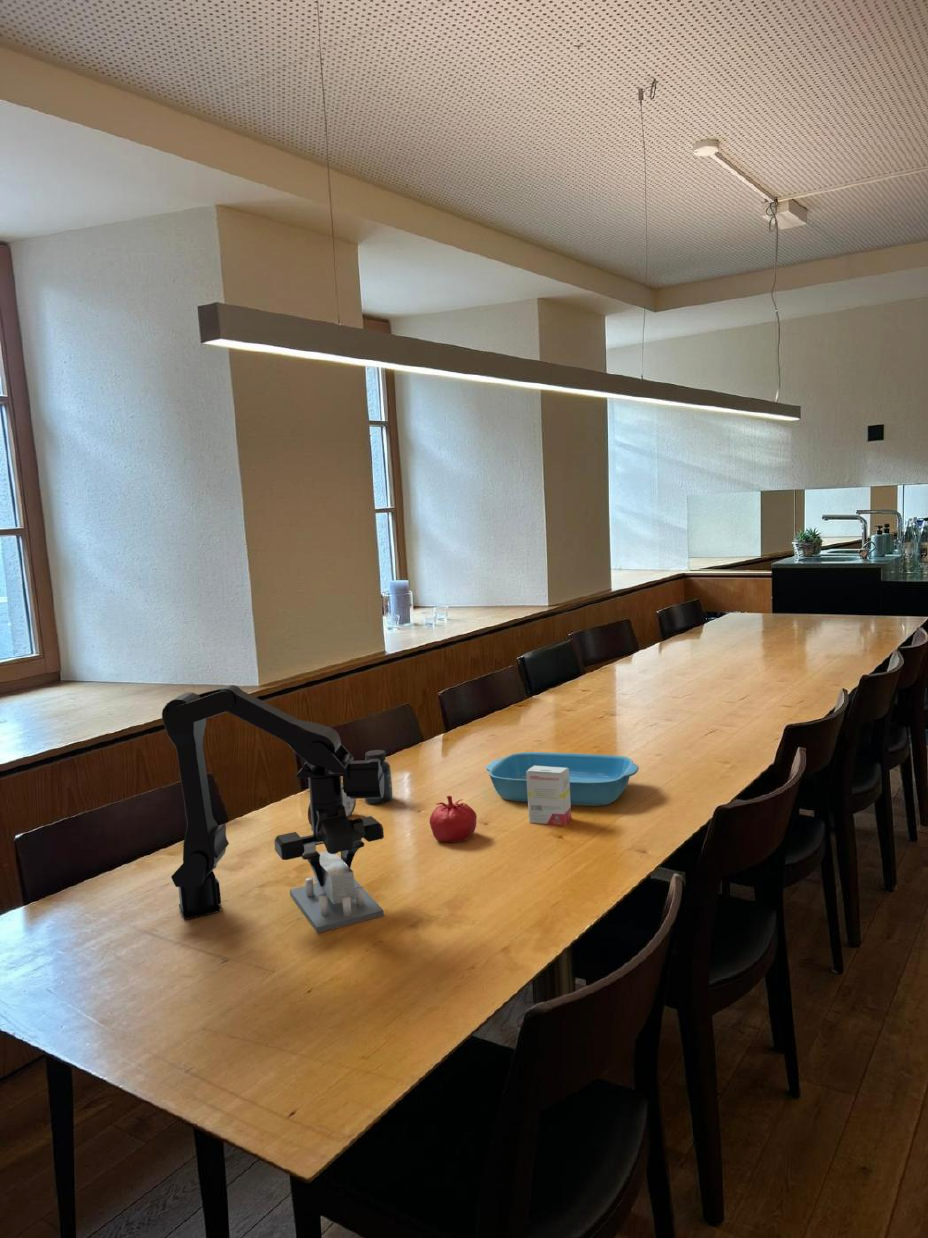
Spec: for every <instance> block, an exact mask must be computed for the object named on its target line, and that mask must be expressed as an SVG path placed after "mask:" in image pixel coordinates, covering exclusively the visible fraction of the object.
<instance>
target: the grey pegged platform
mask: <svg viewBox="0 0 928 1238" xmlns="http://www.w3.org/2000/svg"><path fill="white" fill-rule="evenodd" d="M304 883H305V885H303V886H299V887H295V888H291V889H289V895H290V897H291V899H292V900H293V901H294V903H295V904H296V905H297V907H298V908H299V909H300V911H301V912H302V914H303V915H304V916H305V918H306V919H307V921H308V922H309V924H310V925H311V927H313V929H314V931H315V932H316V933H317V934H321V933H323V932H327V931H331V930H334V929H338V928H342V927H346V926H349V925H354V924H357V923H362V922H366V921H369V920H372V919H377V918H380V917H383V916H385V911H384V909H383V908H382V907H381V906H380V904H378V902H376V900H375V899H374V898H373V897H372V896H371V895H370V894H369V892H367V890H365V888H364V887H363V886H362V885H361V884H360V883H359V882H358V881H357V880H356V879H355V878H354V886H355V897H356V899H353V900H350V897H344V898H342V902H341V903H337V904H333V903H332V902H331V900H330V899H329V898H328V897H327V895H326V894H325V893H324V892H323V891H322V889H321V888H320V887H319V886H318V884H317V883H316V882H315V883H314V877H313V878H312V877H307V878H305V879H304Z"/></svg>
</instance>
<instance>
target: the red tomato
mask: <svg viewBox="0 0 928 1238" xmlns="http://www.w3.org/2000/svg"><path fill="white" fill-rule="evenodd" d="M446 799H447V804H446V803H445V802H444V801H443V802H438V803H437V802H435V804H436V805H438V806H436V807H435V809H434V810H433V811H432V813H431V815H430V816H429V826H430V829H431V831H432V835H433V837H434V838H435V840H437V841H438V842H440V843H455V842H457V843H458V842H464V841H466V840H468V839H469V838H470V837H471V836H473V834H474V833H475V831H476V827H477V817H478V816H477V813H476V811H475V810H474V809H473V808H472V807H471V806H470V805H469V804H467V803H464V802H461V803H459V802H460V801H462V799H458V800H457V801H456V802H454V803H453V796H452V795H446Z"/></svg>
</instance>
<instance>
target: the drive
mask: <svg viewBox="0 0 928 1238" xmlns="http://www.w3.org/2000/svg"><path fill="white" fill-rule="evenodd" d="M318 853H319V854H320V865H321V871H322V876H323V886H322V887H321V886H320V885H319V883H318V880H317V878H316V876H315V874H314V873H313V882H315V883H317V884H318V886H319V887H320V888H321V889H322V891H323V892H324V893H325V894H326V895H327V897H328V898H329V899H330V900H331V902H332V903H333V904H337V903H341V902H342V898H344V897H350V900H353V899H356V897H355V886H354V879H355V876H354V870H352V868H351V867H349V866H348V865H347V864H346V863H345V862H344V861H343V860H342V859H341V856H339V855H338V853H336V854H330V853H328V852H327V850H325V851H321V852H318Z"/></svg>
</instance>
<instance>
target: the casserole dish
mask: <svg viewBox="0 0 928 1238" xmlns="http://www.w3.org/2000/svg"><path fill="white" fill-rule="evenodd" d="M533 766H548V767H562V768H569V782H570V802H571V806H588V807H595V806H598V807H599V806H600V807H601V806H607V805H610V804H612V803H613V802H615V801H616V800H617V799H618V798H619V797H620V796H621V795H622V793H623V791H625V789H626V788H627V785H628V783H629V780H630V777H632V776H635V775H636V774H637V773H638V771H639V769H640V768H639V765H638V764H636V763H635V762H634V761H633V759H632V758H629V757H628V756H627V757H626V756H621V755H615V754H614V755H613V754H612V755H611V754H591V753H572V752H571V753H569V752H568V753H567V752H565V753H564V752H547V751H546V752H541V751H526V752H517V753H512V754H509V755H507V756H505V757H502V758H498V759H495V760H492V761H491V762H490V763H488V764H487V765H486V766H485V769H486V771H488V776H489V778H490V780H491V783H492V785H493V787H494V790H495V792H496V793H497V794H498V795H499V796H500V797H501V798H503V799H505V800H507V801H513V802H520V803H521V802H523V803H528V794H527V778H526V771H528V770H529V769H530V768H531V767H533Z"/></svg>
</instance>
